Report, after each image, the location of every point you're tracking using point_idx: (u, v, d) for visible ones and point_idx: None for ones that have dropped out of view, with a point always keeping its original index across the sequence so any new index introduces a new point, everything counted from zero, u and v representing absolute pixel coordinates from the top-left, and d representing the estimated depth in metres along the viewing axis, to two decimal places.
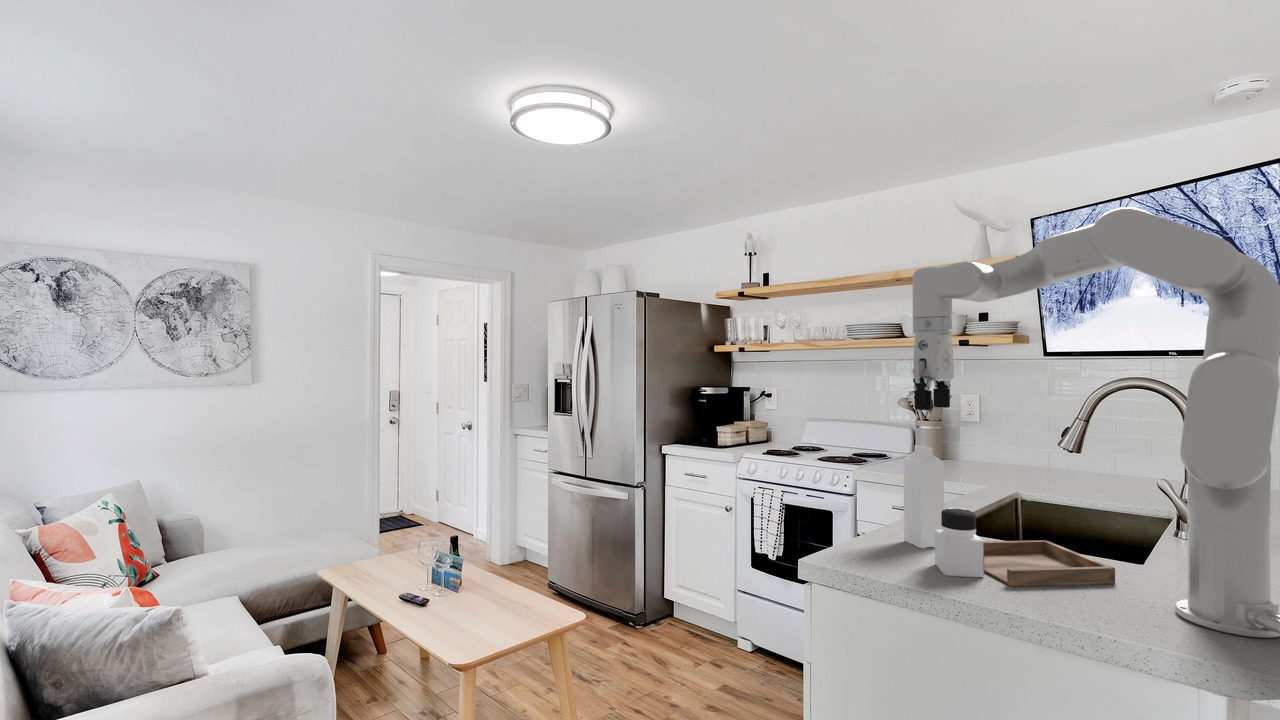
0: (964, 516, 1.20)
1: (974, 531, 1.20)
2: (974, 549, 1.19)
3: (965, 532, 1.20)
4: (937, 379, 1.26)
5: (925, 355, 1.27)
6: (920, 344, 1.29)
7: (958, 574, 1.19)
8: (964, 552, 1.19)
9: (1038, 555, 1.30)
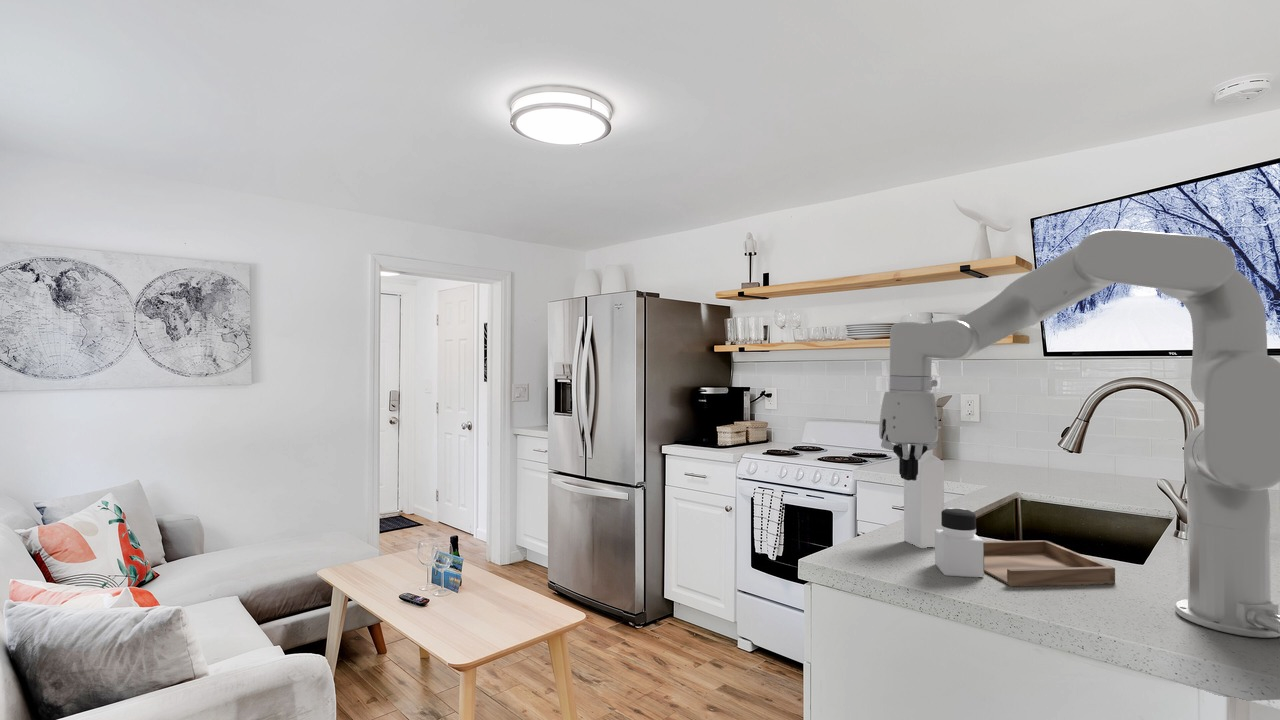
0: (964, 516, 1.20)
1: (974, 531, 1.20)
2: (974, 549, 1.19)
3: (965, 532, 1.20)
4: None
5: None
6: None
7: (958, 574, 1.19)
8: (964, 552, 1.19)
9: (1038, 555, 1.30)
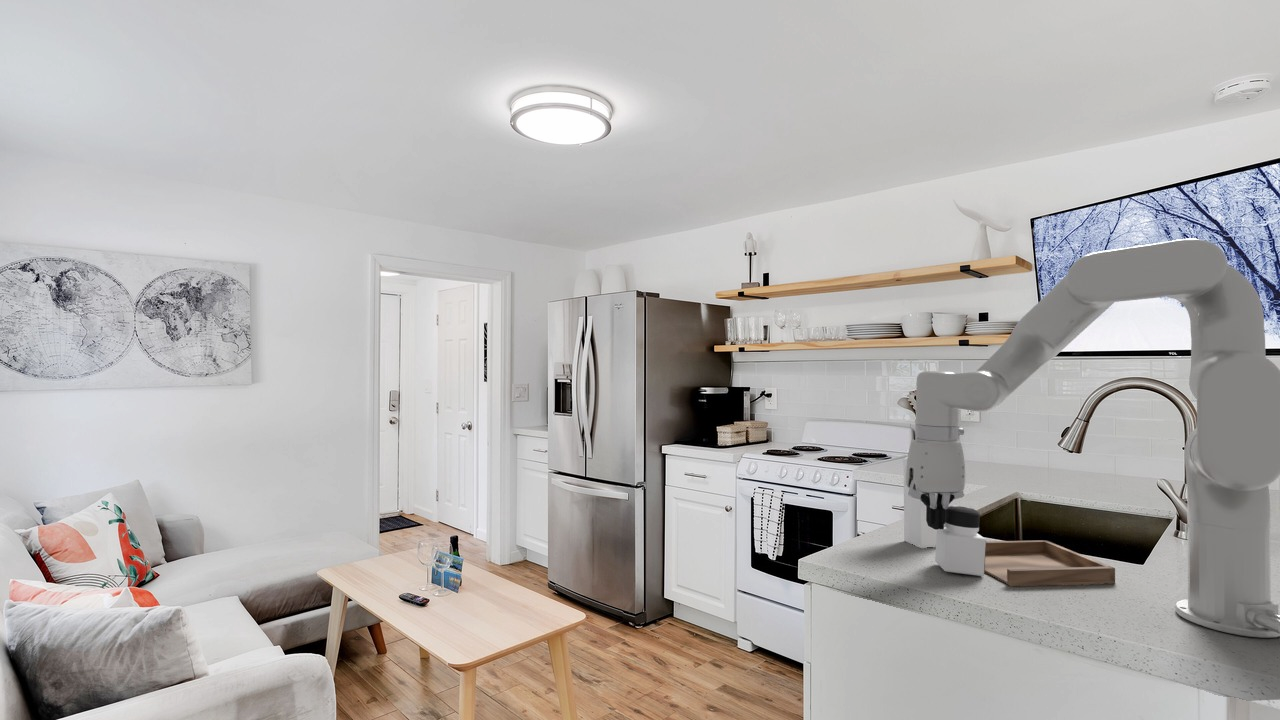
0: (968, 513, 1.20)
1: (977, 529, 1.20)
2: (976, 547, 1.19)
3: (968, 529, 1.20)
4: None
5: None
6: None
7: (958, 571, 1.19)
8: (965, 549, 1.19)
9: (1038, 555, 1.30)
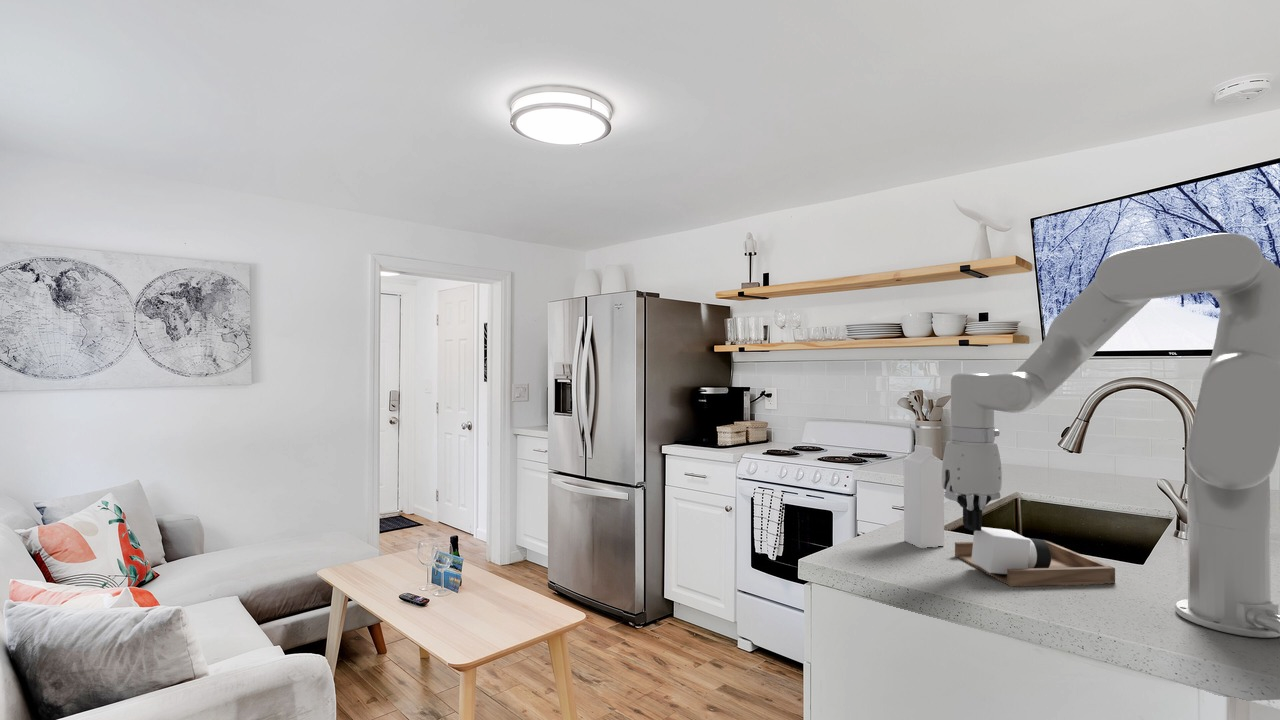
0: (1050, 561, 1.17)
1: None
2: (1019, 567, 1.17)
3: (1034, 560, 1.17)
4: None
5: None
6: None
7: (993, 549, 1.17)
8: (1016, 557, 1.17)
9: None
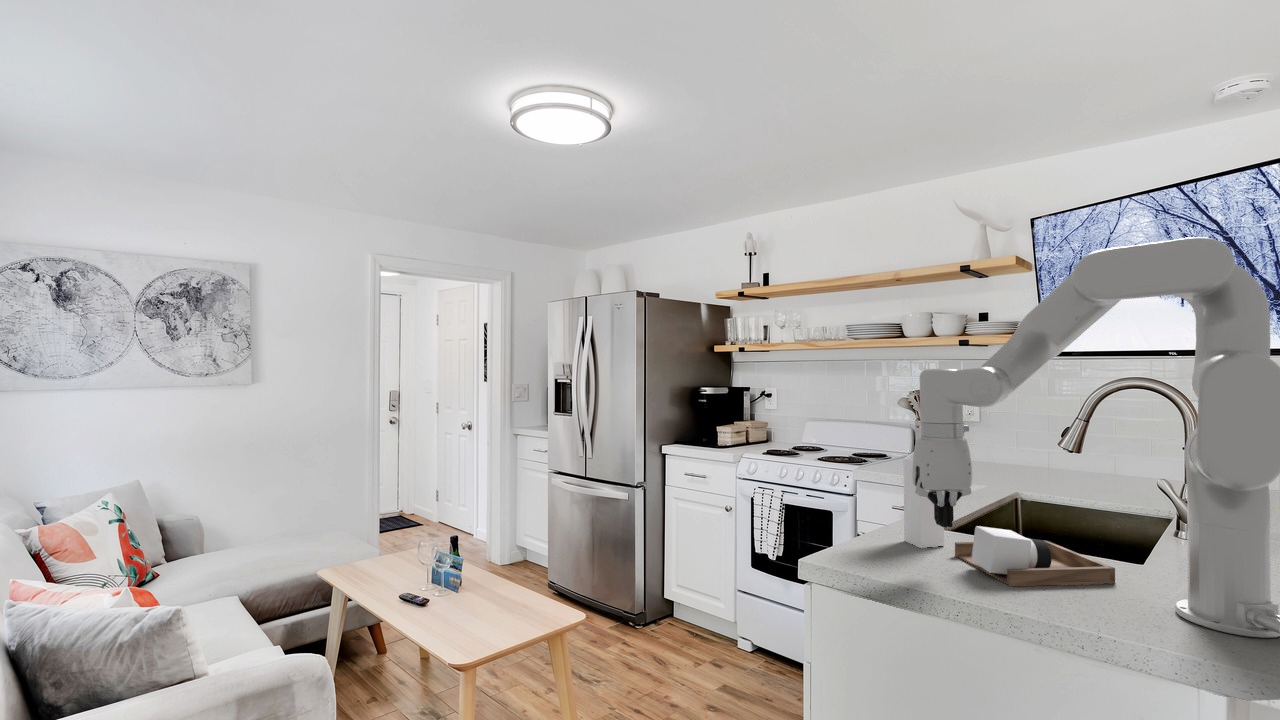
0: (1050, 562, 1.17)
1: None
2: (1019, 567, 1.17)
3: (1034, 561, 1.17)
4: None
5: None
6: None
7: (994, 549, 1.17)
8: (1017, 557, 1.17)
9: None
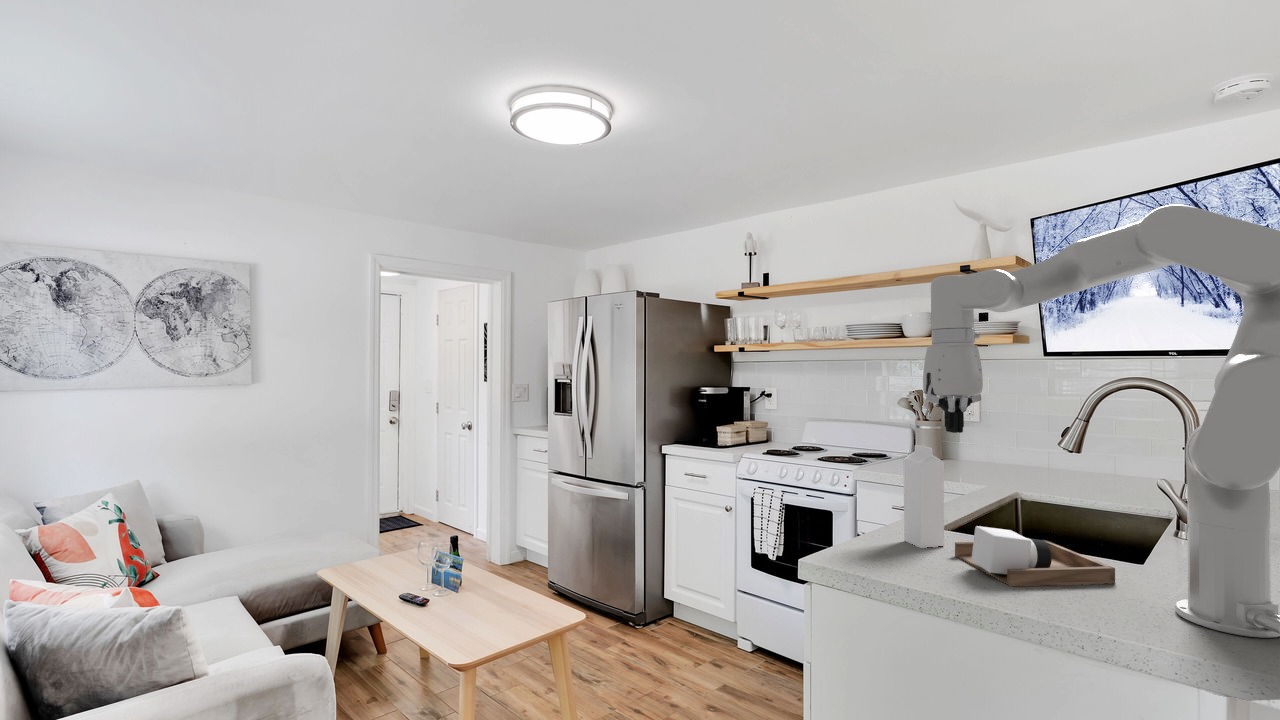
0: (1050, 562, 1.17)
1: None
2: (1019, 567, 1.17)
3: (1034, 561, 1.17)
4: None
5: None
6: None
7: (994, 549, 1.17)
8: (1017, 557, 1.17)
9: None
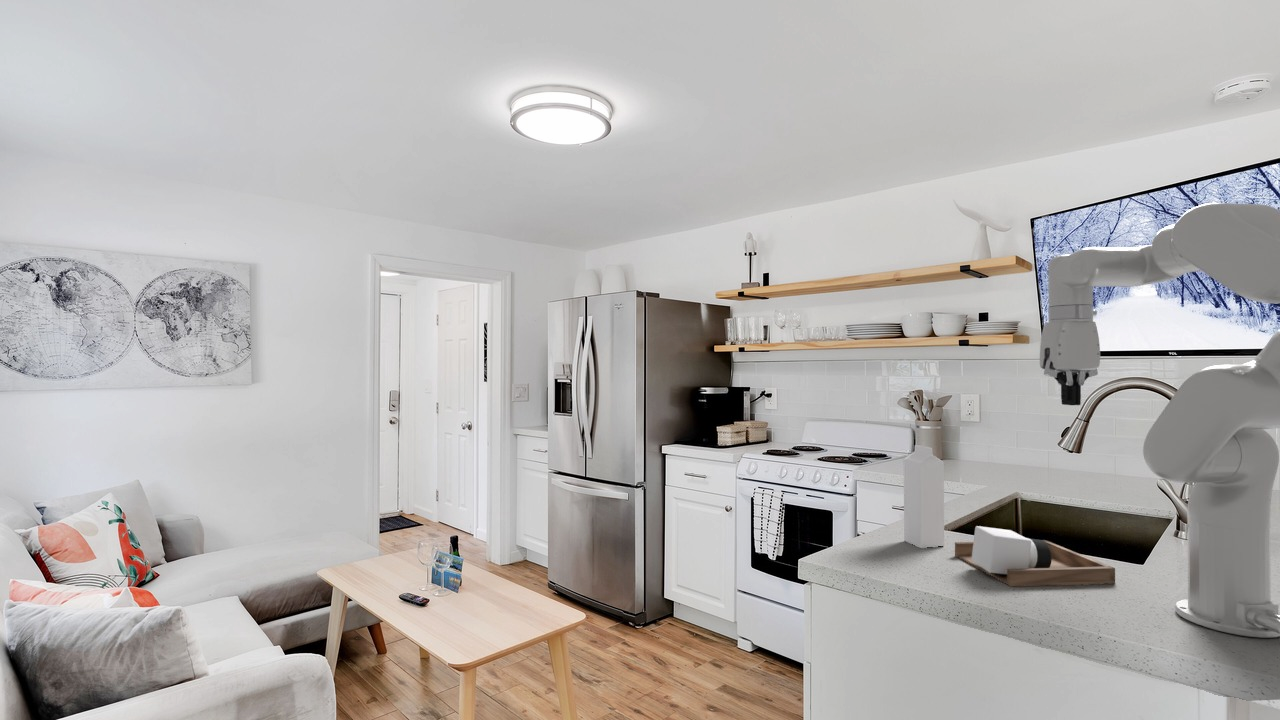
0: (1050, 562, 1.17)
1: None
2: (1019, 567, 1.17)
3: (1034, 561, 1.17)
4: None
5: None
6: None
7: (994, 549, 1.17)
8: (1017, 557, 1.17)
9: None
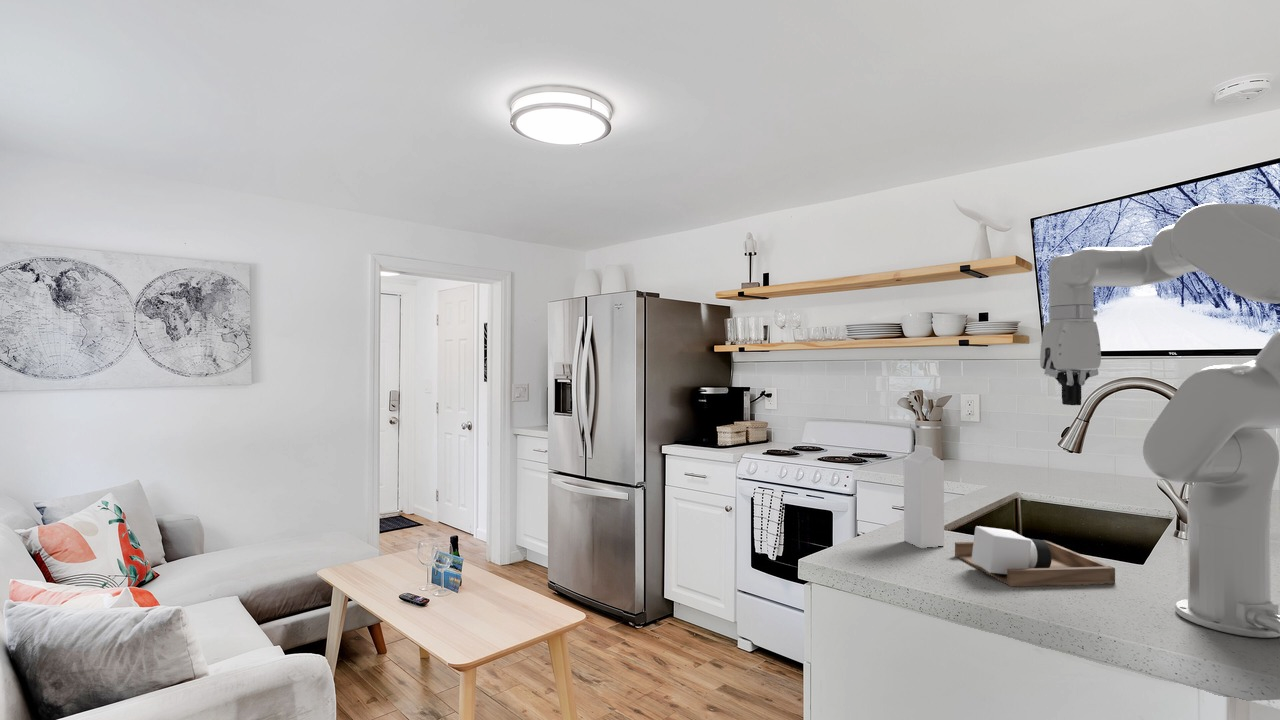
0: (1050, 562, 1.17)
1: None
2: (1019, 567, 1.17)
3: (1034, 561, 1.17)
4: None
5: None
6: None
7: (994, 549, 1.17)
8: (1017, 557, 1.17)
9: None
